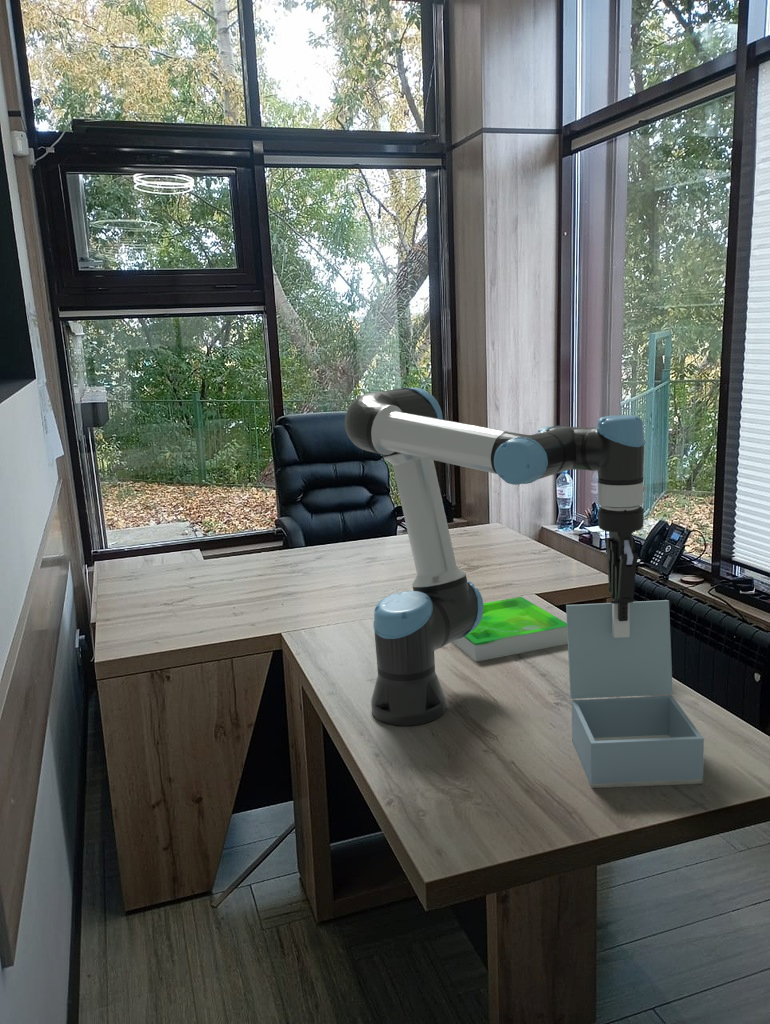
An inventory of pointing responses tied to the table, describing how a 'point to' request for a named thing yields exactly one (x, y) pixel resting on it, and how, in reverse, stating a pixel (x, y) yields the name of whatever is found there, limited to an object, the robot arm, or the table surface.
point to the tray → (512, 630)
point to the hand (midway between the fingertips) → (620, 635)
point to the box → (636, 742)
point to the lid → (619, 651)
